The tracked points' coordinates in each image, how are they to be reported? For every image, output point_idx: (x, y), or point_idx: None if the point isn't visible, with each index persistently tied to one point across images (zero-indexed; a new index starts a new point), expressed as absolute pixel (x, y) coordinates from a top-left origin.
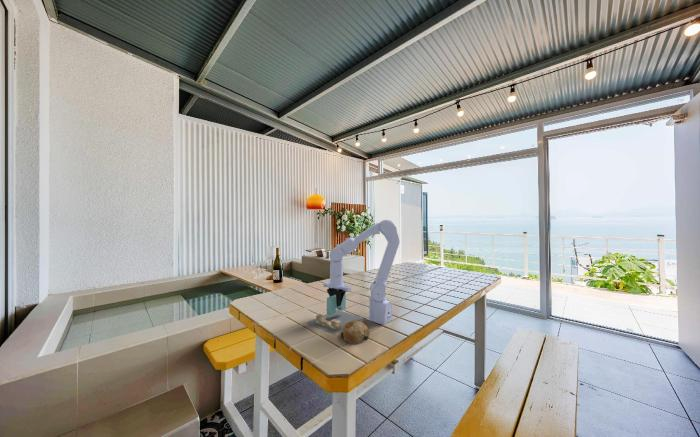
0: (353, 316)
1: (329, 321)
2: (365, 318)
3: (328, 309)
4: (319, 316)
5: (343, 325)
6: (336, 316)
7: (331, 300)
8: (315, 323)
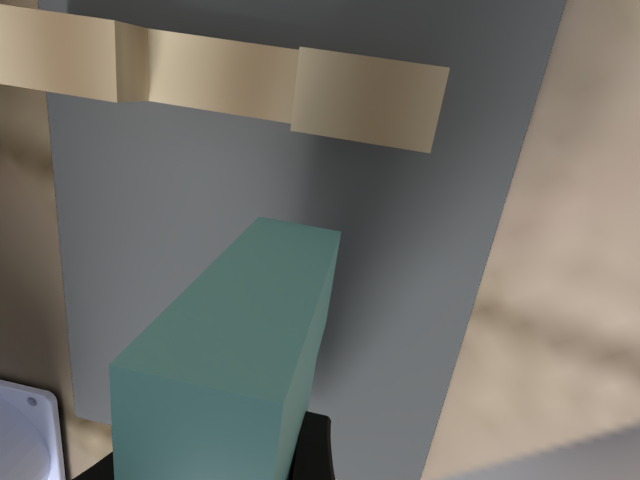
0: None
1: (227, 109)
2: (48, 401)
3: (290, 252)
4: (369, 62)
5: (107, 175)
6: None
7: (142, 352)
8: (429, 44)
